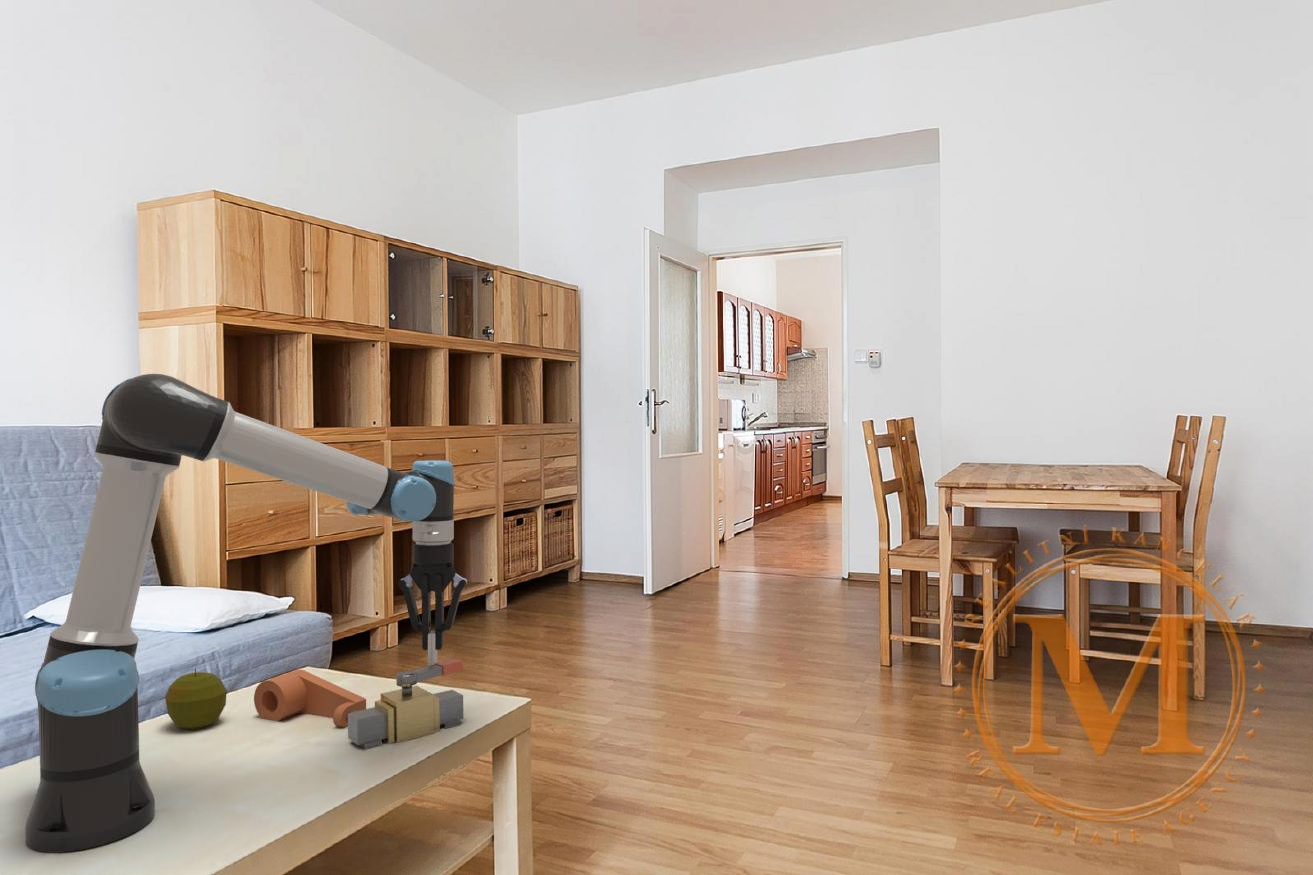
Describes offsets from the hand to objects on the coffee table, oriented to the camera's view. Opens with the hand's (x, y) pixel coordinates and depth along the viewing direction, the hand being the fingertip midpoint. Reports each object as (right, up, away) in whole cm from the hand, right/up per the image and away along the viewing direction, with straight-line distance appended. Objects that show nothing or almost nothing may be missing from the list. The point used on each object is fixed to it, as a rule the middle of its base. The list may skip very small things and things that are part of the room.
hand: (432, 666), depth 165 cm
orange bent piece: (-24, -11, +1) cm, 26 cm away
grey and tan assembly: (-3, -10, -7) cm, 13 cm away
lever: (0, -1, -4) cm, 4 cm away
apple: (-43, -11, -3) cm, 45 cm away
